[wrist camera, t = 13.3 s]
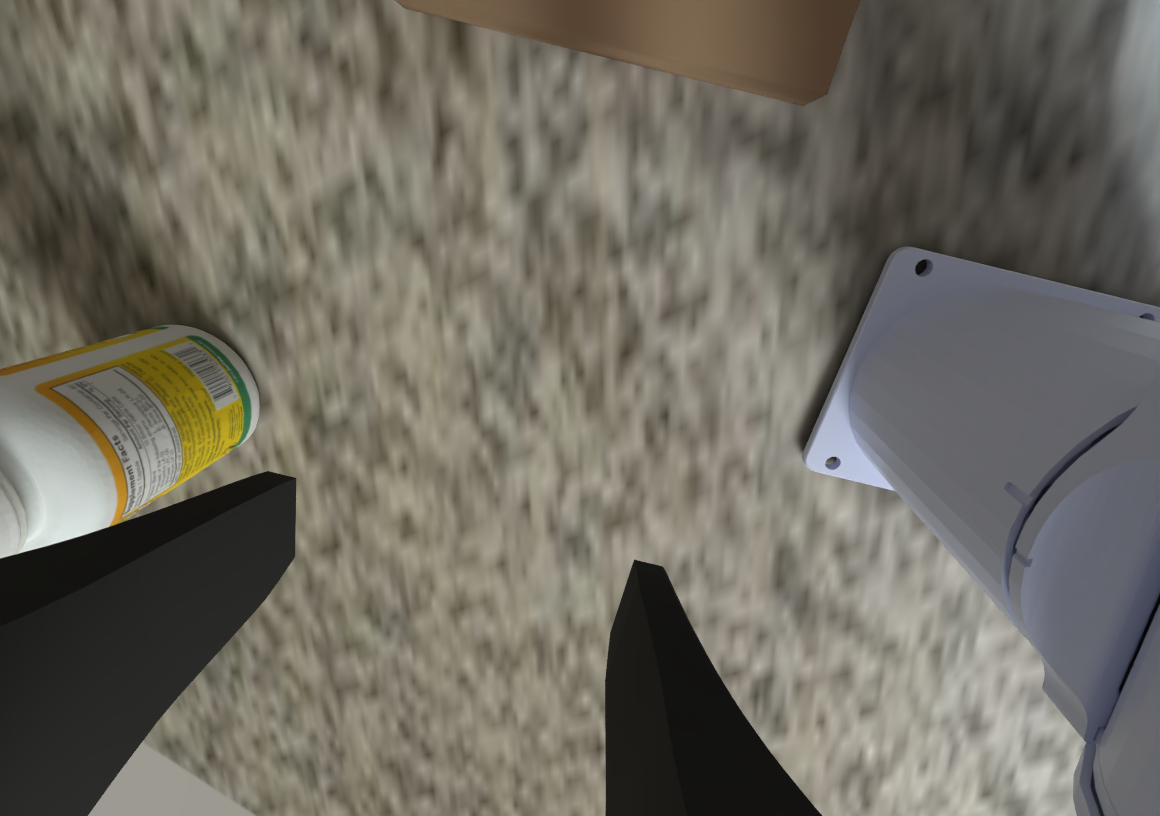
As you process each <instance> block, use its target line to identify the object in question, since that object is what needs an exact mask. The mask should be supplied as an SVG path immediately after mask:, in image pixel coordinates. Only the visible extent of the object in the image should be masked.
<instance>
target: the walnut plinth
mask: <svg viewBox="0 0 1160 816" xmlns="http://www.w3.org/2000/svg"><path fill="white" fill-rule="evenodd" d="M395 1H396V2H397V3H399V4H400V5H401V6H402V7H404V8H406V9H410V10H414V11H418V12H422V13H426V14H431V15H435V16H439V17H443V18H447V19H451V20H455V21H459V22H463V23H467V24H472V25H476V26H480V27H484V28H488V29H492V30H496V31H500V32H504V33H508V34H513V35H517V36H521V37H525V38H529V39H533V40H537V41H541V42H545V43H549V44H554V45H558V46H562V47H566V48H570V49H574V50H578V51H582V52H586V53H590V54H594V55H599V56H603V57H607V58H611V59H615V60H619V61H623V62H627V63H631V64H635V65H640V66H644V67H648V68H652V69H656V70H660V71H664V72H668V73H672V74H676V75H681V76H685V77H689V78H693V79H697V80H701V81H705V82H709V83H713V84H717V85H722V86H726V87H730V88H734V89H738V90H742V91H746V92H750V93H754V94H758V95H762V96H767V97H771V98H775V99H779V100H783V101H787V102H791V103H795V104H799V105H803V106H804V105H806V104H808V103H810V102H812V101H814V100H816V99H818V98H820V97H822V96H824V95H826V94H827V92H828V89H829V86H830V83H831V80H832V78H833V75H834V72H835V69H836V66H837V63H838V61H839V58H840V55H841V52H842V49H843V46H844V44H845V41H846V38H847V35H848V32H849V29H850V27H851V24H852V21H853V18H854V15H855V12H856V10H857V7H858V4H859V1H860V0H395Z"/></svg>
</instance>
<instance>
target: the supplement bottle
mask: <svg viewBox="0 0 1160 816" xmlns="http://www.w3.org/2000/svg"><path fill="white" fill-rule="evenodd" d="M259 409H260V405H259V394H258V389H257V386H256V383H255V381H254V379H253V377H252V374H251V373H250V371H249V369H248V368H247V366H246V365H245V363H244V362H243V361H242V359H241V358H240V357H239V356H238V355H237V354H236V353H235V352H234V351H233V350H232V349H231V348H230V347H229V346H228V345H226V344H225V343H224V342H222V341H221V340H220V339H218V338H216V337H214V336H213V335H211V334H209V333H207V332H205V331H202V330H199V329H196V328H193V327H189V326H183V325H162V326H156V327H153V328H149V329H144V330H141V331H137V332H134V333H130V334H127V335H123V336H119V337H115V338H112V339H109V340H105V341H102V342H98V343H95V344H91V345H87V346H84V347H80V348H77V349H73V350H69V351H66V352H62V353H58V354H55V355H51V356H47V357H44V358H40V359H37V360H33V361H29V362H25V363H21V364H18V365H14V366H10V367H7V368H3V369H0V558H3V557H7V556H11V555H15V554H18V553H22V552H26V551H30V550H34V549H37V548H41V547H45V546H48V545H52V544H55V543H59V542H62V541H66V540H69V539H72V538H76V537H79V536H82V535H86V534H89V533H92V532H95V531H98V530H101V529H104V528H107V527H110V526H113V525H116V524H119V523H121V522H123V521H124V520H126V519H127V518H129V517H130V516H132V515H133V514H135V513H136V512H138V511H139V510H141V509H143V508H144V507H146V506H147V505H149V504H150V503H152V502H153V501H155V500H156V499H158V498H159V497H161V496H162V495H164V494H166V493H167V492H169V491H170V490H172V489H173V488H175V487H177V486H178V485H180V484H181V483H183V482H184V481H186V480H188V479H189V478H191V477H192V476H194V475H195V474H197V473H199V472H200V471H202V470H203V469H205V468H206V467H208V466H209V465H211V464H212V463H214V462H215V461H217V460H218V459H220V458H221V457H223V456H224V455H226V454H227V453H229V452H230V451H232V450H234V449H235V448H236V447H238V446H239V445H241V444H242V443H244V442H245V441H246V440H247V439H248V438H249V437H250V436H251V434H252V433H253V431H254V429H255V428H256V425H257V421H258V418H259Z"/></svg>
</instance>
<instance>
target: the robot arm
mask: <svg viewBox="0 0 1160 816" xmlns="http://www.w3.org/2000/svg"><path fill="white" fill-rule="evenodd" d="M923 259H925V260H926V263H927V266H926V269H925V270H924V272H923V273H921V274H919V275H916V272H915V267H916V265H917V264H918V262H919V261H921V260H923ZM1141 315H1143V318H1139V316H1141ZM830 457H837V459H836V461H835V462H834V463H832V464H825V463H826V460H827V459H828V458H830ZM802 459H803V462H804V464H805V465H806V466H807V467H808V469H810V470H812V471H815V472H819V473H823V474H827V475H832V476H836V477H840V478H844V479H848V480H852V481H856V482H860V483H865V484H869V485H873V486H877V487H881V488H885V489H889V490H893V491H896V492H897V493H898V494H899V495H900V497H901V498H902V499H903V500H904V501H905V502H906V503H907V504H908V506H909V507H910V508H911V509H912V510H913V511H914V512H915V514H916V515H917V516H918V517H919V518H920V519H921V520H922V521H923V523H924V524H925V525H926V526H927V527H928V528H929V529H930V531H931V532H932V533H933V534H934V535H935V536H936V537H937V538H938V540H939V541H940V542H941V543H942V544H943V545H944V546H945V548H946V549H947V550H948V551H949V552H950V553H951V554H952V555H953V557H954V558H955V559H956V560H957V561H958V562H959V563H960V565H961V566H962V567H963V568H964V569H965V570H966V571H967V572H968V574H969V575H970V576H971V577H972V578H973V579H974V580H975V582H976V583H977V584H978V585H979V586H980V587H981V588H982V589H983V591H984V592H985V593H986V594H987V595H988V596H989V597H990V599H991V600H992V601H993V602H994V603H995V604H996V605H997V606H998V608H999V609H1000V610H1001V611H1002V612H1003V613H1004V614H1005V616H1006V617H1007V618H1008V619H1009V620H1010V621H1011V622H1012V623H1013V625H1014V626H1015V627H1016V628H1017V629H1018V630H1019V631H1020V633H1021V634H1022V635H1023V636H1024V637H1026V638H1027V639H1028V641H1029V642H1030V643H1031V645H1032V646H1033V647H1034V649H1035V650H1036V651H1037V653H1038V654H1039V655H1040V657H1041V659H1042V661H1043V664H1044V670H1045V678H1044V683H1043V691H1044V692H1045V693H1046V695H1047V696H1048V697H1049V698H1050V699H1051V701H1052V702H1053V703H1054V704H1055V705H1056V707H1057V708H1058V709H1059V710H1060V712H1061V713H1062V714H1063V715H1064V716H1065V718H1066V719H1067V720H1068V721H1069V722H1070V724H1071V725H1072V726H1073V727H1074V728H1075V730H1076V731H1077V732H1078V733H1079V735H1080V736H1081V737H1082V738H1083V739H1084V741H1085V742H1087V743H1086V745H1085V747H1084V749H1083V752H1082V754H1081V756H1080V759H1079V762H1078V765H1077V767H1076V770H1075V773H1074V785H1073V800H1074V805H1075V810H1076V814H1077V816H1160V307H1157V306H1153V305H1149V304H1145V303H1141V302H1136V301H1132V300H1128V299H1124V298H1120V297H1116V296H1112V295H1108V294H1104V293H1099V292H1095V291H1091V290H1087V289H1083V288H1079V287H1075V286H1071V285H1067V284H1063V283H1058V282H1054V281H1050V280H1046V279H1042V278H1038V277H1034V276H1030V275H1026V274H1021V273H1017V272H1013V271H1009V270H1005V269H1001V268H997V267H993V266H989V265H984V264H980V263H976V262H972V261H968V260H964V259H960V258H956V257H952V256H948V255H943V254H939V253H935V252H931V251H927V250H923V249H919V248H915V247H906V246H904V247H901V248H898V249H896V250H895V251H894V252H892V253H891V255H890V256H889V258H888V259H887V261H886V264H885V266H884V268H883V271H882V273H881V275H880V277H879V280H878V282H877V284H876V287H875V289H874V291H873V293H872V296H871V298H870V300H869V303H868V305H867V307H866V309H865V312H864V314H863V316H862V319H861V321H860V323H859V325H858V328H857V330H856V332H855V335H854V337H853V339H852V341H851V344H850V346H849V348H848V351H847V353H846V355H845V357H844V360H843V362H842V364H841V367H840V369H839V371H838V373H837V376H836V378H835V380H834V382H833V385H832V387H831V389H830V392H829V394H828V396H827V398H826V401H825V403H824V405H823V408H822V410H821V412H820V414H819V417H818V419H817V421H816V424H815V426H814V428H813V430H812V433H811V435H810V437H809V440H808V442H807V444H806V446H805V449H804V451H803V455H802ZM295 522H296V478H294V477H290V476H285V475H281V474H277V473H273V472H269V471H267V472H264V473H260V474H257V475H254V476H251V477H248V478H245V479H242V480H239V481H236V482H234V483H231V484H228V485H226V486H223V487H220V488H217V489H215V490H212V491H209V492H207V493H204V494H201V495H199V496H196V497H193V498H190V499H188V500H185V501H182V502H179V503H177V504H174V505H171V506H168V507H166V508H163V509H160V510H157V511H155V512H152V513H149V514H146V515H143V516H140V517H137V518H134V519H131V520H128V521H125V522H122V523H119V524H116V525H113V526H110V527H107V528H104V529H101V530H98V531H95V532H92V533H89V534H86V535H82V536H79V537H76V538H72V539H69V540H66V541H62V542H59V543H55V544H52V545H48V546H45V547H41V548H37V549H34V550H30V551H26V552H22V553H18V554H15V555H11V556H7V557H3V558H0V816H88V815H89V813H90V812H91V810H92V809H93V808H94V806H95V805H96V803H97V802H98V801H99V799H100V798H101V796H102V795H103V794H104V792H105V791H106V789H107V788H108V787H109V785H110V784H111V782H112V781H113V780H114V778H115V777H116V776H117V774H118V773H119V772H120V770H121V769H122V768H123V766H124V765H125V764H126V762H127V761H128V760H129V758H130V757H131V756H132V754H133V753H134V752H135V750H136V749H137V748H138V746H139V745H140V744H141V743H142V741H143V740H144V739H145V737H146V736H147V735H148V733H149V732H150V731H151V729H152V728H153V727H154V725H155V724H156V723H157V721H158V720H159V719H160V718H161V716H162V715H163V714H164V713H165V712H166V711H167V709H168V708H169V707H170V706H171V705H172V703H173V702H174V701H175V700H176V699H177V697H178V696H179V695H180V694H181V693H182V692H183V691H184V690H185V688H186V687H187V686H188V685H189V684H190V683H191V682H192V681H193V680H194V679H195V677H196V676H197V675H198V674H199V673H200V672H201V671H202V670H203V669H204V667H205V666H206V665H207V664H208V663H209V662H210V661H211V660H212V659H213V657H214V656H215V655H216V654H217V653H218V652H219V651H220V650H221V649H222V648H223V646H224V645H225V644H226V643H227V642H228V641H229V640H230V639H231V638H232V636H233V635H234V634H235V633H236V632H237V631H238V630H239V629H240V628H241V626H242V625H243V624H244V623H245V622H246V621H247V620H248V619H249V617H250V616H251V615H252V614H253V613H254V612H255V611H256V610H257V608H258V607H259V606H260V605H261V604H262V603H263V601H264V600H265V599H266V598H267V596H268V595H269V594H270V592H271V591H272V589H273V588H274V587H275V585H276V584H277V582H278V581H279V580H280V578H281V577H282V575H283V574H284V572H285V571H286V569H287V568H288V566H289V565H290V563H291V562H292V560H293V559H294V557H295ZM605 729H606V816H822V815H821V814H820V813H819V812H818V810H817V809H816V808H815V807H814V806H813V805H812V803H811V802H810V801H809V800H808V798H807V797H806V796H805V795H804V794H803V792H802V791H801V790H800V789H799V787H798V786H797V785H796V784H795V783H794V781H793V780H792V779H791V778H790V776H789V775H788V774H787V773H786V772H785V770H784V769H783V768H782V767H781V765H780V764H779V763H778V761H777V760H776V759H775V757H774V756H773V755H772V754H771V752H770V751H769V750H768V748H767V747H766V746H765V744H764V743H763V741H762V740H761V739H760V737H759V736H758V734H757V733H756V732H755V730H754V729H753V727H752V726H751V724H750V723H749V722H748V720H747V719H746V717H745V716H744V715H743V713H742V712H741V710H740V709H739V707H738V705H737V704H736V702H735V701H734V699H733V698H732V696H731V694H730V693H729V691H728V690H727V688H726V686H725V685H724V683H723V681H722V680H721V678H720V676H719V675H718V673H717V671H716V670H715V668H714V666H713V664H712V663H711V661H710V659H709V657H708V656H707V654H706V652H705V650H704V648H703V646H702V644H701V643H700V641H699V639H698V637H697V635H696V633H695V631H694V629H693V627H692V626H691V624H690V622H689V620H688V618H687V616H686V613H685V611H684V609H683V607H682V605H681V603H680V601H679V599H678V597H677V595H676V593H675V590H674V588H673V586H672V584H671V582H670V579H669V577H668V575H667V573H666V571H665V569H664V568H663V567H662V566H658V565H654V564H650V563H646V562H641V561H637V560H634V562H633V565H632V568H631V571H630V574H629V577H628V580H627V583H626V587H625V590H624V593H623V596H622V599H621V602H620V605H619V608H618V611H617V614H616V617H615V620H614V623H613V626H612V629H611V632H610V641H609V650H608V659H607V669H606V679H605Z"/></svg>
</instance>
